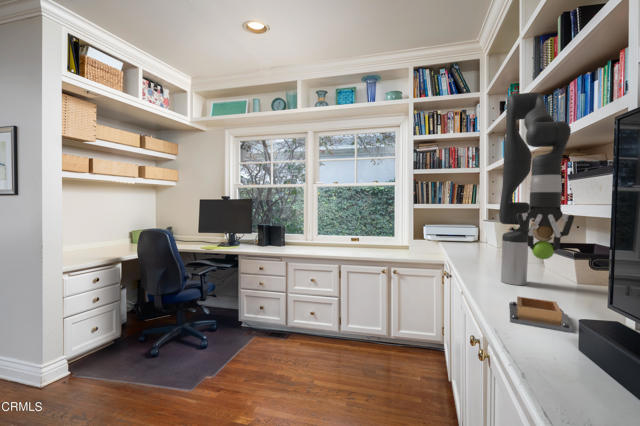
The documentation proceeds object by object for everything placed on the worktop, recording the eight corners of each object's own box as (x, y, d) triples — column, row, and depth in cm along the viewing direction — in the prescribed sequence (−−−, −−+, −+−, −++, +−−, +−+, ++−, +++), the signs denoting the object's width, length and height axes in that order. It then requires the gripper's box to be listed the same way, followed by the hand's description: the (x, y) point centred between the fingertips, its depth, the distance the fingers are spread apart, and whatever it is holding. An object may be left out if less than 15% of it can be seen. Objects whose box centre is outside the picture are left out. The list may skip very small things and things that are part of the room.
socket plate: (509, 305, 105) (509, 293, 104) (562, 313, 98) (563, 300, 98) (510, 321, 91) (510, 308, 91) (572, 332, 84) (573, 317, 84)
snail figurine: (523, 257, 97) (526, 217, 97) (545, 257, 97) (547, 218, 97) (535, 260, 92) (537, 218, 91) (558, 261, 92) (560, 219, 91)
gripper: (573, 191, 93) (571, 249, 94) (515, 191, 100) (514, 246, 101) (579, 190, 87) (576, 253, 87) (517, 190, 94) (515, 248, 94)
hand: (543, 249), depth 94 cm, fingers closed on snail figurine, 5 cm apart
